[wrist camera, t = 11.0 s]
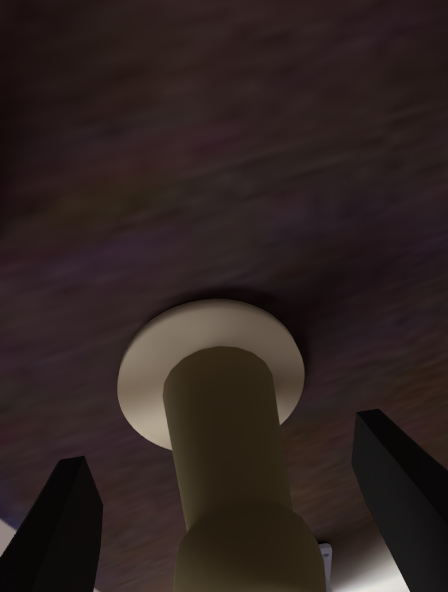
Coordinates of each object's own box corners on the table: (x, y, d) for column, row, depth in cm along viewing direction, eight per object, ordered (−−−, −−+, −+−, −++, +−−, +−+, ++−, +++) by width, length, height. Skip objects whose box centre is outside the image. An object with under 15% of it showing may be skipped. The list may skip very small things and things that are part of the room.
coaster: (299, 426, 26) (303, 439, 25) (138, 452, 25) (137, 466, 24) (299, 286, 21) (305, 295, 20) (99, 313, 20) (96, 325, 19)
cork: (277, 341, 21) (370, 568, 12) (270, 426, 24) (340, 663, 15) (157, 350, 20) (152, 598, 11) (166, 436, 23) (167, 691, 14)
